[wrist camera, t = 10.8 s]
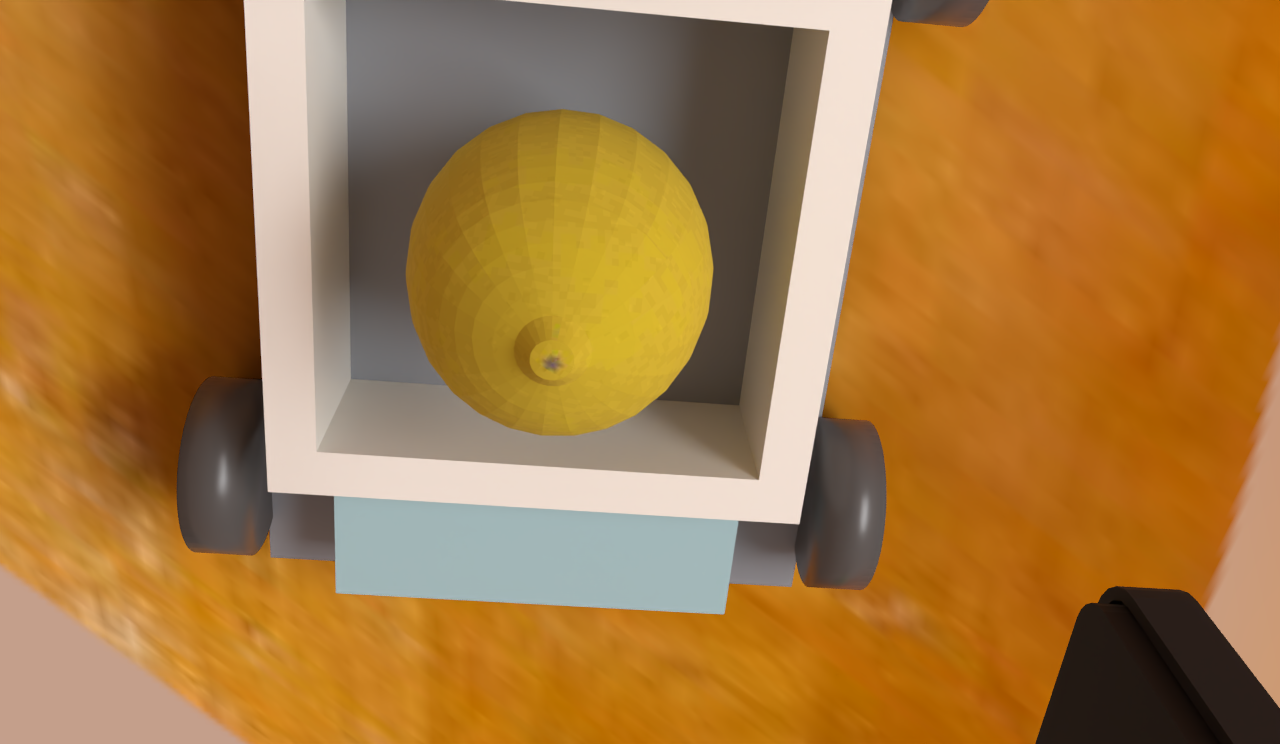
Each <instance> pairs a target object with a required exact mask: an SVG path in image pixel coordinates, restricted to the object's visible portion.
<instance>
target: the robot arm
mask: <svg viewBox="0 0 1280 744" xmlns="http://www.w3.org/2000/svg"><path fill="white" fill-rule="evenodd" d="M1036 744H1280V708H1279V707H1278V706H1277V704H1276V703H1275V702H1274V700H1273V699H1272V698H1271V696H1270V695H1269V694H1268V693H1267V691H1266V690H1265V689H1264V687H1263V686H1262V685H1261V683H1260V682H1259V681H1258V680H1257V678H1256V677H1255V676H1254V674H1253V673H1252V672H1251V671H1250V669H1249V668H1248V667H1247V665H1246V664H1245V663H1244V661H1243V660H1242V659H1241V657H1240V656H1239V655H1238V654H1237V652H1236V651H1235V650H1234V648H1233V647H1232V646H1231V645H1230V643H1229V642H1228V641H1227V639H1226V638H1225V637H1224V635H1223V634H1222V633H1221V632H1220V630H1219V629H1218V628H1217V626H1216V625H1215V624H1214V622H1213V621H1212V620H1211V619H1210V617H1209V616H1208V615H1207V613H1206V612H1205V611H1204V609H1203V608H1202V607H1201V606H1200V604H1199V603H1198V602H1197V601H1196V600H1195V599H1194V598H1193V597H1192V596H1191V595H1190V594H1189V593H1187V592H1184V591H1181V590H1173V589H1155V588H1137V587H1119V586H1116V587H1112V588H1109V589H1107V591H1106V592H1105V593H1104V594H1103V595H1102V596H1101V598H1100V600H1099V602H1098V603H1090V604H1086V605H1085V606H1084V607H1083V608H1082V609H1081V611H1080V613H1079V615H1078V617H1077V620H1076V623H1075V626H1074V629H1073V632H1072V635H1071V638H1070V641H1069V644H1068V647H1067V650H1066V653H1065V656H1064V659H1063V662H1062V665H1061V668H1060V671H1059V674H1058V677H1057V680H1056V683H1055V686H1054V689H1053V692H1052V695H1051V698H1050V701H1049V704H1048V707H1047V710H1046V713H1045V716H1044V719H1043V722H1042V725H1041V728H1040V731H1039V734H1038V737H1037V740H1036Z"/></svg>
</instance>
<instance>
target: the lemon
mask: <svg viewBox="0 0 1280 744" xmlns="http://www.w3.org/2000/svg"><path fill="white" fill-rule="evenodd" d="M712 278H713V260H712V253H711V246H710V239H709V233H708V226H707V223H706V220H705V217H704V215H703V213H702V210H701V208H700V206H699V203H698V201H697V199H696V196H695V194H694V192H693V189H692V187H691V185H690V184H689V182H688V181H687V179H686V178H685V177H684V176H683V174H682V173H681V172H680V171H679V169H678V168H677V167H676V166H675V164H674V163H673V162H672V161H671V159H670V158H669V157H668V156H667V154H666V153H665V152H664V151H663V150H661V149H660V148H659V147H657V146H656V145H655V144H653V143H652V142H651V141H649V140H648V139H647V138H645V137H644V136H643V135H641V134H640V133H639V132H637V131H636V130H635V129H633V128H631V127H629V126H626V125H624V124H622V123H619V122H617V121H614V120H612V119H610V118H607V117H605V116H602V115H600V114H595V113H588V112H581V111H574V110H566V109H558V110H549V111H540V112H531V113H525V114H522V115H520V116H517V117H514V118H512V119H509V120H506V121H504V122H501V123H498V124H496V125H493V126H491V127H489V128H487V129H486V130H484V131H483V132H482V133H480V134H479V135H478V136H476V137H475V138H473V139H472V140H471V141H469V142H468V143H467V144H465V145H464V146H462V147H461V148H460V149H458V150H457V151H456V152H455V153H454V155H453V156H452V157H451V158H450V160H449V161H448V162H447V163H446V165H445V166H444V167H443V168H442V170H441V171H440V172H439V173H438V175H437V176H436V177H435V178H434V180H433V181H432V182H431V184H430V185H429V187H428V189H427V191H426V194H425V196H424V198H423V201H422V203H421V205H420V208H419V210H418V212H417V214H416V217H415V219H414V221H413V224H412V228H411V234H410V241H409V249H408V256H407V264H406V284H407V290H408V297H409V304H410V311H411V317H412V322H413V325H414V327H415V330H416V332H417V334H418V337H419V339H420V342H421V344H422V346H423V349H424V351H425V353H426V356H427V358H428V360H429V362H430V364H431V365H432V366H433V368H434V369H435V370H436V372H437V373H438V374H439V375H440V377H441V378H442V379H443V381H444V382H445V383H446V385H447V386H448V387H449V388H450V390H451V391H452V392H453V393H454V394H455V395H456V396H458V397H459V398H460V399H461V400H463V401H464V402H465V403H466V404H468V405H469V406H470V407H471V408H473V409H474V410H475V411H476V412H478V413H479V414H481V415H483V416H485V417H487V418H489V419H491V420H493V421H495V422H497V423H499V424H502V425H504V426H506V427H508V428H511V429H515V430H519V431H524V432H528V433H532V434H537V435H541V436H576V435H580V434H585V433H589V432H594V431H599V430H603V429H607V428H609V427H611V426H614V425H616V424H618V423H620V422H622V421H624V420H626V419H629V418H631V417H633V416H635V415H637V414H638V413H639V412H640V411H642V410H643V409H644V408H645V407H647V406H648V405H649V404H650V403H651V402H653V401H654V400H655V399H656V398H658V397H659V396H660V395H661V394H663V393H664V392H665V391H666V390H667V389H668V387H669V386H670V385H671V383H672V382H673V381H674V379H675V378H676V377H677V375H678V374H679V373H680V371H681V370H682V369H683V367H684V366H685V365H686V363H687V362H688V360H689V359H690V357H691V355H692V353H693V351H694V348H695V346H696V343H697V341H698V338H699V336H700V334H701V331H702V329H703V326H704V324H705V321H706V319H707V315H708V312H709V303H710V295H711V286H712Z"/></svg>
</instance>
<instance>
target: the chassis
mask: <svg viewBox="0 0 1280 744" xmlns="http://www.w3.org/2000/svg"><path fill="white" fill-rule="evenodd" d="M988 1H989V0H244V18H245V38H246V59H247V79H248V100H249V120H250V140H251V161H252V181H253V202H254V222H255V243H256V263H257V284H258V304H259V325H260V345H261V365H262V379H247V378H232V377H217V376H211V377H209V378H207V379H206V380H205V381H204V382H203V383H202V384H201V386H200V387H199V389H198V390H197V392H196V394H195V396H194V398H193V401H192V403H191V406H190V409H189V412H188V415H187V418H186V422H185V426H184V430H183V435H182V440H181V446H180V453H179V461H178V472H177V509H178V518H179V524H180V529H181V533H182V536H183V539H184V541H185V543H186V545H187V546H188V548H189V549H190V550H191V551H193V552H201V553H219V554H236V555H254V554H256V553H257V552H258V551H259V549H260V548H261V547H262V545H263V543H264V541H265V539H266V537H267V534H268V531H269V529H270V550H271V557H276V558H293V559H311V560H329V561H335V570H336V593H343V594H362V595H380V596H398V597H416V598H435V599H453V600H471V601H489V602H508V603H526V604H544V605H563V606H581V607H599V608H617V609H636V610H654V611H672V612H690V613H709V614H724V613H725V607H726V600H727V593H728V587H729V583H734V584H751V585H769V586H787V587H791V586H792V581H793V575H794V570H795V564H796V562H797V567H798V571H799V574H800V577H801V579H802V581H803V583H804V584H805V585H806V586H807V587H817V588H835V589H852V590H862V589H864V588H865V587H866V586H867V585H868V584H869V583H870V581H871V579H872V577H873V575H874V572H875V570H876V567H877V563H878V560H879V556H880V552H881V547H882V541H883V534H884V526H885V515H886V474H885V464H884V456H883V450H882V446H881V442H880V439H879V435H878V433H877V431H876V429H875V427H874V425H873V424H872V423H871V422H869V421H865V420H851V419H836V418H822V413H823V407H824V402H825V396H826V391H827V385H828V379H829V374H830V368H831V363H832V357H833V352H834V346H835V340H836V335H837V329H838V324H839V318H840V312H841V307H842V301H843V296H844V290H845V284H846V279H847V273H848V268H849V262H850V256H851V251H852V245H853V240H854V234H855V228H856V223H857V217H858V212H859V206H860V200H861V195H862V189H863V184H864V178H865V172H866V167H867V161H868V156H869V150H870V145H871V139H872V133H873V128H874V122H875V117H876V111H877V105H878V100H879V94H880V89H881V83H882V77H883V72H884V66H885V61H886V55H887V49H888V44H889V38H890V33H891V27H892V21H893V16H894V17H895V18H896V19H897V20H898V21H903V22H914V23H924V24H935V25H945V26H956V27H964V26H967V25H969V24H971V23H972V22H973V21H974V20H975V19H976V18H977V17H978V16H979V15H980V13H981V12H982V11H983V9H984V7H985V6H986V4H987V3H988ZM558 109H566V110H574V111H581V112H588V113H595V114H600V115H602V116H605V117H607V118H610V119H612V120H614V121H617V122H619V123H622V124H624V125H626V126H629V127H631V128H633V129H635V130H636V131H637V132H639V133H640V134H641V135H643V136H644V137H645V138H647V139H648V140H649V141H651V142H652V143H653V144H655V145H656V146H657V147H659V148H660V149H661V150H663V151H664V152H665V153H666V154H667V156H668V157H669V158H670V159H671V161H672V162H673V163H674V164H675V166H676V167H677V168H678V169H679V171H680V172H681V173H682V174H683V176H684V177H685V178H686V179H687V181H688V182H689V184H690V185H691V187H692V189H693V192H694V194H695V196H696V199H697V201H698V203H699V206H700V208H701V210H702V213H703V215H704V217H705V220H706V223H707V226H708V233H709V239H710V246H711V253H712V260H713V278H712V286H711V295H710V303H709V312H708V315H707V319H706V321H705V324H704V326H703V329H702V331H701V334H700V336H699V338H698V341H697V343H696V346H695V348H694V351H693V353H692V355H691V357H690V359H689V360H688V362H687V363H686V365H685V366H684V367H683V369H682V370H681V371H680V373H679V374H678V375H677V377H676V378H675V379H674V381H673V382H672V383H671V385H670V386H669V387H668V389H667V390H666V391H665V392H664V393H663V394H661V395H660V396H659V397H658V398H656V399H655V400H654V401H653V402H651V403H650V404H649V405H648V406H647V407H645V408H644V409H643V410H642V411H640V412H639V413H638V414H637V415H635V416H633V417H631V418H629V419H626V420H624V421H622V422H620V423H618V424H616V425H614V426H611V427H609V428H607V429H603V430H599V431H594V432H589V433H585V434H580V435H576V436H541V435H537V434H532V433H528V432H524V431H519V430H515V429H511V428H508V427H506V426H504V425H502V424H499V423H497V422H495V421H493V420H491V419H489V418H487V417H485V416H483V415H481V414H479V413H478V412H476V411H475V410H474V409H473V408H471V407H470V406H469V405H468V404H466V403H465V402H464V401H463V400H461V399H460V398H459V397H458V396H456V395H455V394H454V393H453V392H452V391H451V390H450V388H449V387H448V386H447V385H446V383H445V382H444V381H443V379H442V378H441V377H440V375H439V374H438V373H437V372H436V370H435V369H434V368H433V366H432V365H431V364H430V362H429V360H428V358H427V356H426V353H425V351H424V349H423V346H422V344H421V342H420V339H419V337H418V334H417V332H416V330H415V327H414V325H413V322H412V317H411V311H410V304H409V297H408V290H407V284H406V264H407V256H408V249H409V241H410V234H411V228H412V224H413V221H414V219H415V217H416V214H417V212H418V210H419V208H420V205H421V203H422V201H423V198H424V196H425V194H426V191H427V189H428V187H429V185H430V184H431V182H432V181H433V180H434V178H435V177H436V176H437V175H438V173H439V172H440V171H441V170H442V168H443V167H444V166H445V165H446V163H447V162H448V161H449V160H450V158H451V157H452V156H453V155H454V153H455V152H456V151H457V150H458V149H460V148H461V147H462V146H464V145H465V144H467V143H468V142H469V141H471V140H472V139H473V138H475V137H476V136H478V135H479V134H480V133H482V132H483V131H484V130H486V129H487V128H489V127H491V126H493V125H496V124H498V123H501V122H504V121H506V120H509V119H512V118H514V117H517V116H520V115H522V114H525V113H531V112H540V111H549V110H558Z"/></svg>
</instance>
